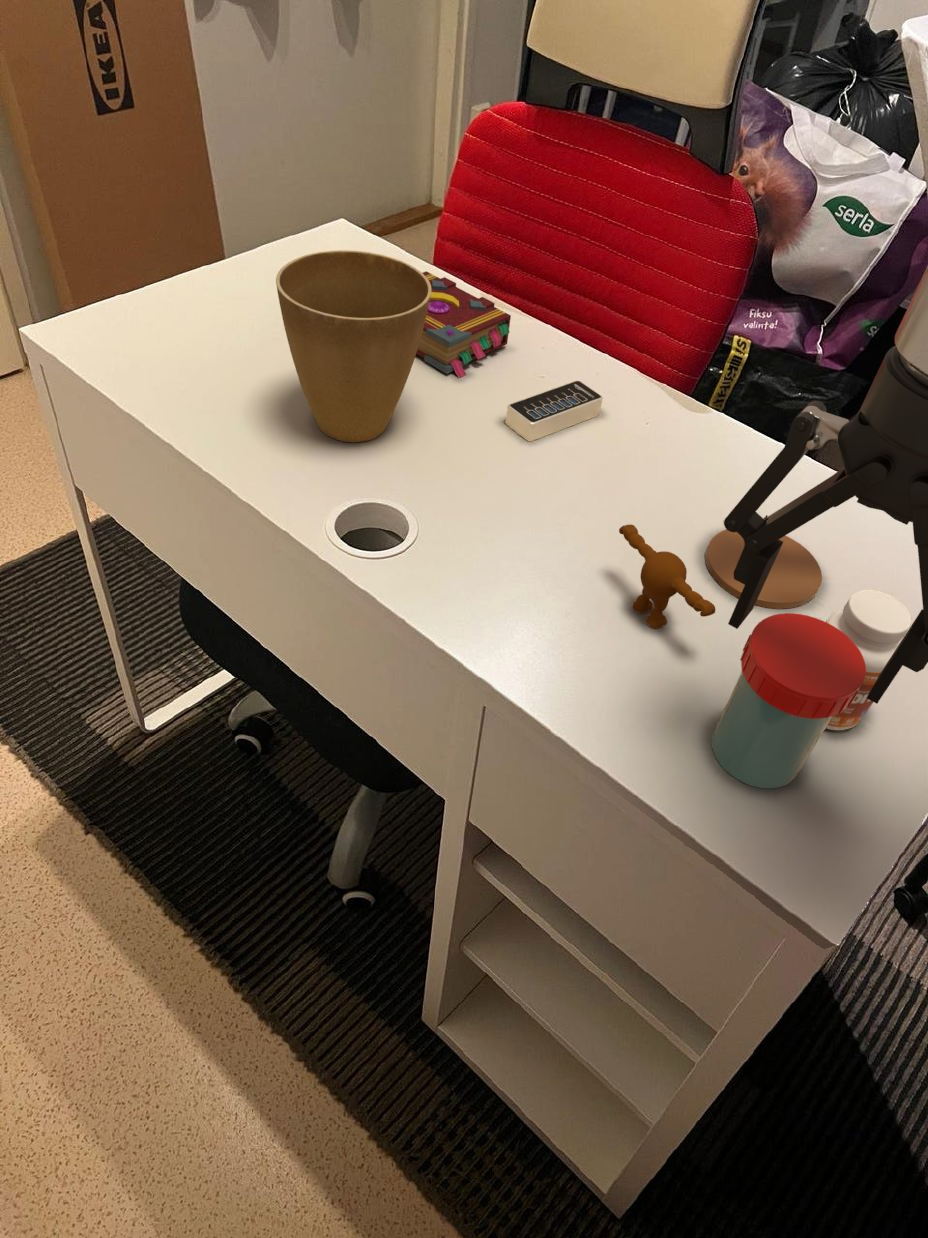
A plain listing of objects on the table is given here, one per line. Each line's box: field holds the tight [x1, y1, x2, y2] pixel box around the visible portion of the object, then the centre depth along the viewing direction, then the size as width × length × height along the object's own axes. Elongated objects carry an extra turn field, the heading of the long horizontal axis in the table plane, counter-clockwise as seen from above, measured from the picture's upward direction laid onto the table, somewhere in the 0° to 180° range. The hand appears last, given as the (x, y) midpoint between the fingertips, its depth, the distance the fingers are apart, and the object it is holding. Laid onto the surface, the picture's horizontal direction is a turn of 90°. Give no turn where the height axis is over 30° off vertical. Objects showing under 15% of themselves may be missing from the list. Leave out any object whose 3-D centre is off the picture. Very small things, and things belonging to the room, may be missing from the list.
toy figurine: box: [618, 524, 716, 629], centre depth 79 cm, size 12×4×7 cm, turn 29°
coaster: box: [704, 528, 823, 610], centre depth 87 cm, size 11×11×1 cm
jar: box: [711, 670, 833, 789], centre depth 67 cm, size 7×7×11 cm
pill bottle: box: [825, 589, 912, 731], centre depth 72 cm, size 6×6×11 cm
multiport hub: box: [504, 380, 604, 442], centre depth 102 cm, size 4×11×2 cm, turn 128°
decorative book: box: [416, 270, 512, 379], centre depth 111 cm, size 11×16×5 cm
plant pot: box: [275, 249, 432, 443], centre depth 92 cm, size 15×15×16 cm
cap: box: [740, 612, 866, 719], centre depth 64 cm, size 8×8×2 cm
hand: (807, 651), depth 63 cm, fingers open, 10 cm apart
